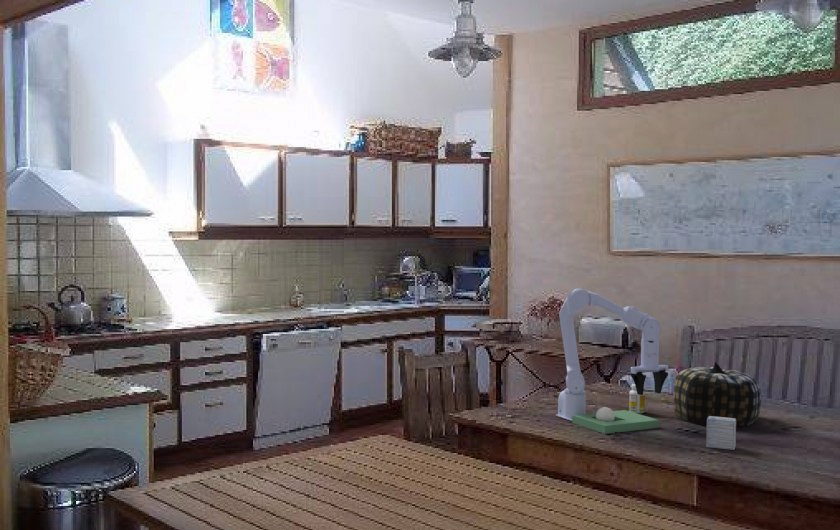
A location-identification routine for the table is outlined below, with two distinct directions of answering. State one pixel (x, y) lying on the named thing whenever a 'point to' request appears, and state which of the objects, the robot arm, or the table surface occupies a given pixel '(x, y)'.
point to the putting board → (616, 422)
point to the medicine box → (721, 432)
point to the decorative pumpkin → (716, 395)
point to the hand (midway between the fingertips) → (649, 393)
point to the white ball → (605, 414)
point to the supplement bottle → (636, 401)
